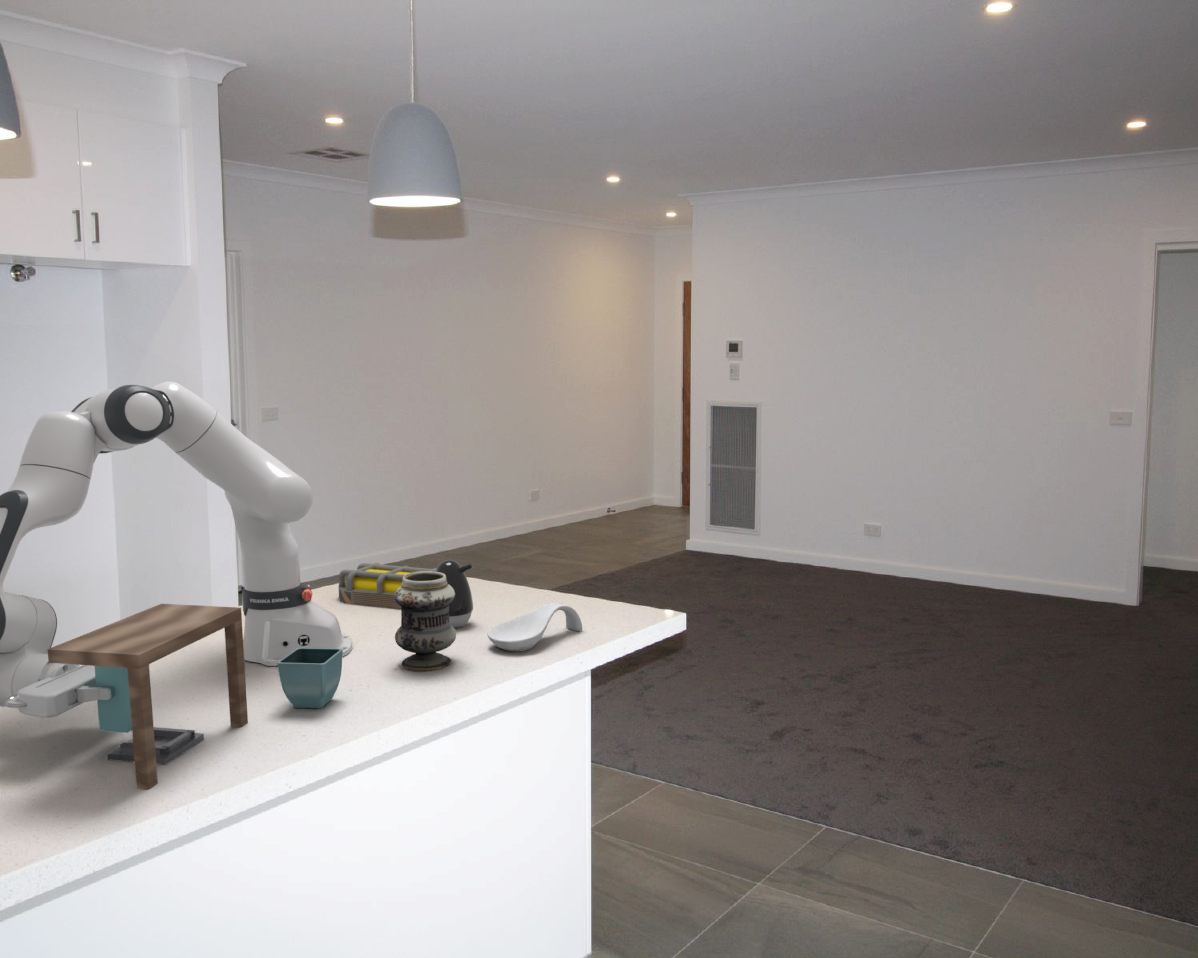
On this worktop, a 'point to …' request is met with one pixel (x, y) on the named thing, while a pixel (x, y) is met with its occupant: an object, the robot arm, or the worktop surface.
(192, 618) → the overhang shelf
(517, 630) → the spoon rest
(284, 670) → the flower pot
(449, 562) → the black rounded upright piece
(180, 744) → the seat cradle
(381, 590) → the cage light
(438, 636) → the apothecary jar
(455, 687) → the worktop surface
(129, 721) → the teal box
